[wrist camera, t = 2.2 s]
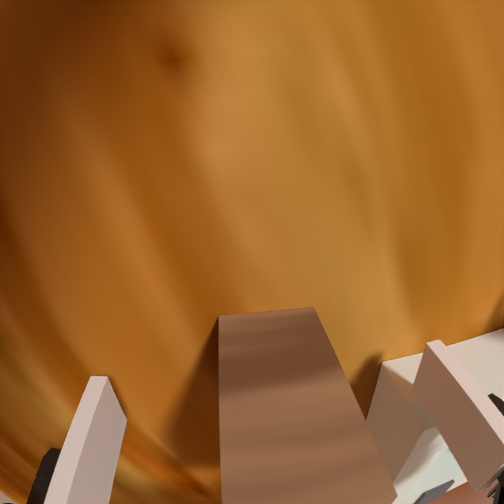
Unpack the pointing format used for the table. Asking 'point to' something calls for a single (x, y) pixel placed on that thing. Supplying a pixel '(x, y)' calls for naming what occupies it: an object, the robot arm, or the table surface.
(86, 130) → the table surface
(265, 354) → the plug
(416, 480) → the socket board
